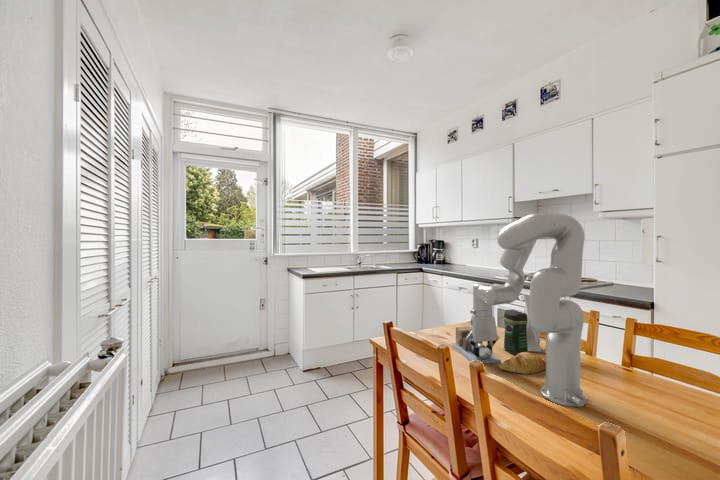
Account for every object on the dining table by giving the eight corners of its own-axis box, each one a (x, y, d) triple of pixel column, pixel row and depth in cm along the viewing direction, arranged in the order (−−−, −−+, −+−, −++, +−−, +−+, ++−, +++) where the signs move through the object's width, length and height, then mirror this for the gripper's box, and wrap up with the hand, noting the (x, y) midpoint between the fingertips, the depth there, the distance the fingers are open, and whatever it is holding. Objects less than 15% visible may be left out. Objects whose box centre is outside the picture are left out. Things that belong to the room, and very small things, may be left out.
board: (500, 362, 132) (500, 360, 132) (472, 364, 131) (472, 361, 131) (476, 344, 154) (476, 342, 154) (452, 345, 153) (451, 343, 153)
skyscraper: (546, 353, 141) (546, 290, 141) (526, 353, 142) (526, 290, 142) (538, 347, 149) (538, 287, 149) (520, 346, 151) (520, 287, 150)
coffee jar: (531, 354, 140) (531, 312, 140) (515, 356, 138) (515, 313, 138) (515, 347, 150) (515, 307, 149) (500, 348, 148) (500, 308, 147)
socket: (476, 345, 149) (476, 329, 149) (459, 346, 149) (459, 329, 148) (472, 342, 154) (472, 326, 153) (455, 343, 153) (455, 327, 153)
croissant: (503, 383, 122) (509, 368, 118) (491, 361, 130) (495, 347, 127) (554, 378, 124) (561, 364, 121) (538, 357, 133) (544, 343, 129)
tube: (492, 359, 132) (492, 347, 132) (480, 360, 132) (480, 348, 132) (476, 347, 146) (476, 336, 146) (465, 348, 146) (465, 337, 146)
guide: (482, 350, 143) (482, 339, 143) (465, 351, 143) (465, 340, 142) (479, 347, 146) (479, 337, 146) (462, 348, 146) (462, 337, 145)
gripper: (467, 315, 130) (467, 360, 130) (506, 314, 132) (506, 358, 132) (459, 311, 138) (459, 353, 138) (497, 309, 139) (497, 351, 140)
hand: (482, 355), depth 135 cm, fingers closed on tube, 4 cm apart
